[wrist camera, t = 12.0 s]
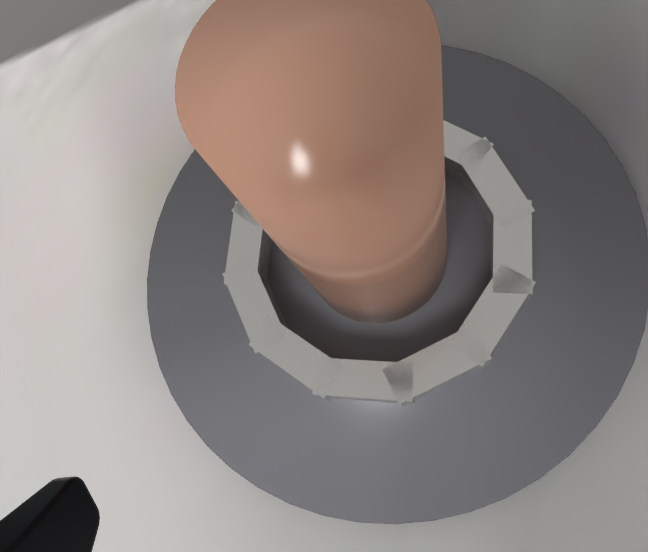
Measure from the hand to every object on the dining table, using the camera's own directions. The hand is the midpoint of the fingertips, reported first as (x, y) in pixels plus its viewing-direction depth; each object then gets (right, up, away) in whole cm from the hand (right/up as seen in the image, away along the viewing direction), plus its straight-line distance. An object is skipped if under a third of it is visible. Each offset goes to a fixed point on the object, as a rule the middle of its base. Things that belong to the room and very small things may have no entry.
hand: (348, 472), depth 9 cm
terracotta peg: (+2, +4, +12) cm, 12 cm away
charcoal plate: (+2, +4, +13) cm, 13 cm away
